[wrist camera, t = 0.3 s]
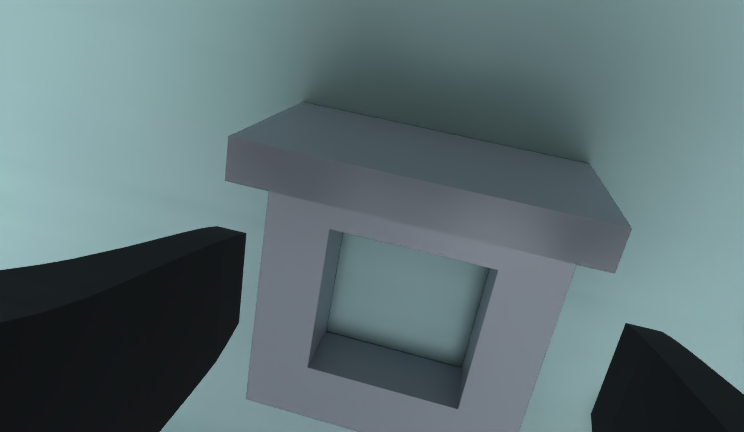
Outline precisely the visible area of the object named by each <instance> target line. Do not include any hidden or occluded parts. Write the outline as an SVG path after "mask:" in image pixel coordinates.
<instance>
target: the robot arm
mask: <svg viewBox="0 0 744 432" xmlns="http://www.w3.org/2000/svg"><path fill="white" fill-rule="evenodd" d="M245 243H246V233H243V232H239V231H235V230H230V229H226V228H222V227H218V226H216V227H207V228H201V229H196V230H192V231H188V232H183V233H179V234H175V235H171V236H168V237H164V238H160V239H156V240H152V241H148V242H144V243H140V244H136V245H132V246H128V247H124V248H120V249H115V250H111V251H106V252H102V253H97V254H93V255H88V256H84V257H79V258H75V259H70V260H64V261H59V262H53V263H47V264H41V265H34V266H27V267H20V268H13V269H6V270H0V432H160V431H161V429H162V428H163V427H164V426H165V424H166V423H167V422H168V421H169V419H170V418H171V417H172V416H173V415H174V413H175V412H176V411H177V410H178V408H179V407H180V406H181V405H182V404H183V402H184V401H185V400H186V399H187V397H188V396H189V395H190V394H191V393H192V391H193V390H194V389H195V388H196V386H197V385H198V384H199V383H200V381H201V380H202V379H203V378H204V376H205V375H206V374H207V373H208V371H209V370H210V369H211V367H212V366H213V365H214V364H215V362H216V361H217V359H218V357H219V356H220V354H221V352H222V351H223V349H224V348H225V346H226V344H227V343H228V341H229V339H230V337H231V336H232V334H233V332H234V330H235V329H236V327H237V325H238V323H239V314H240V302H241V290H242V278H243V267H244V255H245ZM591 421H592V432H744V394H742V393H741V392H740V391H739V390H737V389H736V388H735V387H734V386H732V385H731V384H730V383H729V382H727V381H726V380H725V379H724V378H723V377H721V376H720V375H719V374H718V373H716V372H715V371H714V370H713V369H711V368H710V367H709V366H708V365H706V364H705V363H704V362H703V361H702V360H700V359H699V358H698V357H697V356H695V355H694V354H693V353H691V352H690V351H689V350H688V349H686V348H685V347H684V346H682V345H681V344H680V343H678V342H677V341H676V340H674V339H673V338H671V337H670V336H668V335H666V334H665V333H663V332H661V331H657V330H653V329H649V328H644V327H640V326H636V325H632V324H627V323H626V324H625V327H624V329H623V332H622V334H621V337H620V340H619V342H618V345H617V347H616V350H615V353H614V355H613V358H612V361H611V363H610V366H609V368H608V371H607V374H606V376H605V379H604V381H603V384H602V387H601V389H600V392H599V394H598V397H597V400H596V402H595V405H594V408H593V410H592V413H591Z"/></svg>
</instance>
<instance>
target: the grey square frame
mask: <svg viewBox="0 0 744 432" xmlns="http://www.w3.org/2000/svg"><path fill="white" fill-rule="evenodd" d="M225 181H228V182H233V183H237V184H241V185H245V186H249V187H254V188H258V189H262V190H266V191H269V194H268V203H267V212H266V221H265V230H264V239H263V248H262V257H261V267H260V276H259V285H258V294H257V303H256V312H255V321H254V330H253V339H252V348H251V357H250V366H249V375H248V384H247V393H246V399H248V400H251V401H254V402H258V403H261V404H265V405H268V406H272V407H275V408H279V409H282V410H286V411H289V412H292V413H296V414H299V415H303V416H306V417H310V418H313V419H317V420H320V421H324V422H327V423H331V424H334V425H337V426H341V427H344V428H348V429H351V430H355V431H358V432H519V429H520V426H521V423H522V420H523V417H524V415H525V412H526V409H527V406H528V403H529V400H530V397H531V394H532V391H533V389H534V386H535V383H536V380H537V377H538V374H539V371H540V368H541V365H542V363H543V360H544V357H545V354H546V351H547V348H548V345H549V342H550V339H551V337H552V334H553V331H554V328H555V325H556V322H557V319H558V316H559V313H560V311H561V308H562V305H563V302H564V299H565V296H566V293H567V290H568V287H569V285H570V282H571V279H572V276H573V273H574V270H575V267H576V265H581V266H585V267H589V268H593V269H597V270H602V271H606V272H610V273H614V274H615V272H616V269H617V266H618V264H619V261H620V258H621V256H622V253H623V250H624V248H625V245H626V242H627V240H628V237H629V234H630V232H631V229H632V228H631V226H630V225H629V223H628V221H627V220H626V218H625V217H624V215H623V214H622V212H621V211H620V209H619V208H618V206H617V205H616V203H615V202H614V200H613V199H612V197H611V195H610V194H609V192H608V191H607V189H606V188H605V186H604V185H603V183H602V182H601V180H600V179H599V177H598V176H597V174H596V173H595V171H594V170H593V168H592V166H591V165H590V164H588V163H583V162H578V161H574V160H569V159H565V158H560V157H555V156H551V155H546V154H541V153H537V152H532V151H527V150H523V149H518V148H514V147H509V146H504V145H500V144H495V143H490V142H486V141H481V140H476V139H472V138H467V137H463V136H458V135H453V134H449V133H444V132H439V131H435V130H430V129H425V128H421V127H416V126H412V125H407V124H402V123H398V122H393V121H388V120H384V119H379V118H374V117H370V116H365V115H361V114H356V113H351V112H347V111H342V110H337V109H333V108H328V107H323V106H319V105H314V104H310V103H305V102H301V103H299V104H297V105H295V106H293V107H291V108H288V109H286V110H284V111H282V112H280V113H278V114H276V115H273V116H271V117H269V118H267V119H265V120H263V121H260V122H258V123H256V124H254V125H252V126H250V127H248V128H245V129H243V130H241V131H239V132H237V133H235V134H232V135H230V136H228V149H227V162H226V174H225ZM343 232H344V233H348V234H352V235H356V236H360V237H364V238H368V239H373V240H377V241H381V242H385V243H389V244H393V245H397V246H401V247H405V248H409V249H414V250H418V251H422V252H426V253H430V254H434V255H438V256H442V257H446V258H450V259H455V260H459V261H463V262H467V263H471V264H475V265H479V266H483V267H487V268H490V270H489V273H488V277H487V280H486V284H485V287H484V291H483V294H482V298H481V301H480V305H479V309H478V312H477V316H476V319H475V323H474V326H473V330H472V333H471V337H470V340H469V344H468V347H467V351H466V355H465V358H464V362H463V365H462V368H460V367H456V366H452V365H448V364H445V363H441V362H437V361H434V360H430V359H426V358H422V357H419V356H415V355H411V354H407V353H404V352H400V351H396V350H393V349H389V348H385V347H381V346H378V345H374V344H370V343H366V342H363V341H359V340H355V339H351V338H348V337H344V336H340V335H337V334H333V333H329V332H326V330H327V324H328V318H329V312H330V306H331V300H332V294H333V288H334V282H335V276H336V270H337V264H338V258H339V252H340V246H341V240H342V235H343Z"/></svg>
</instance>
